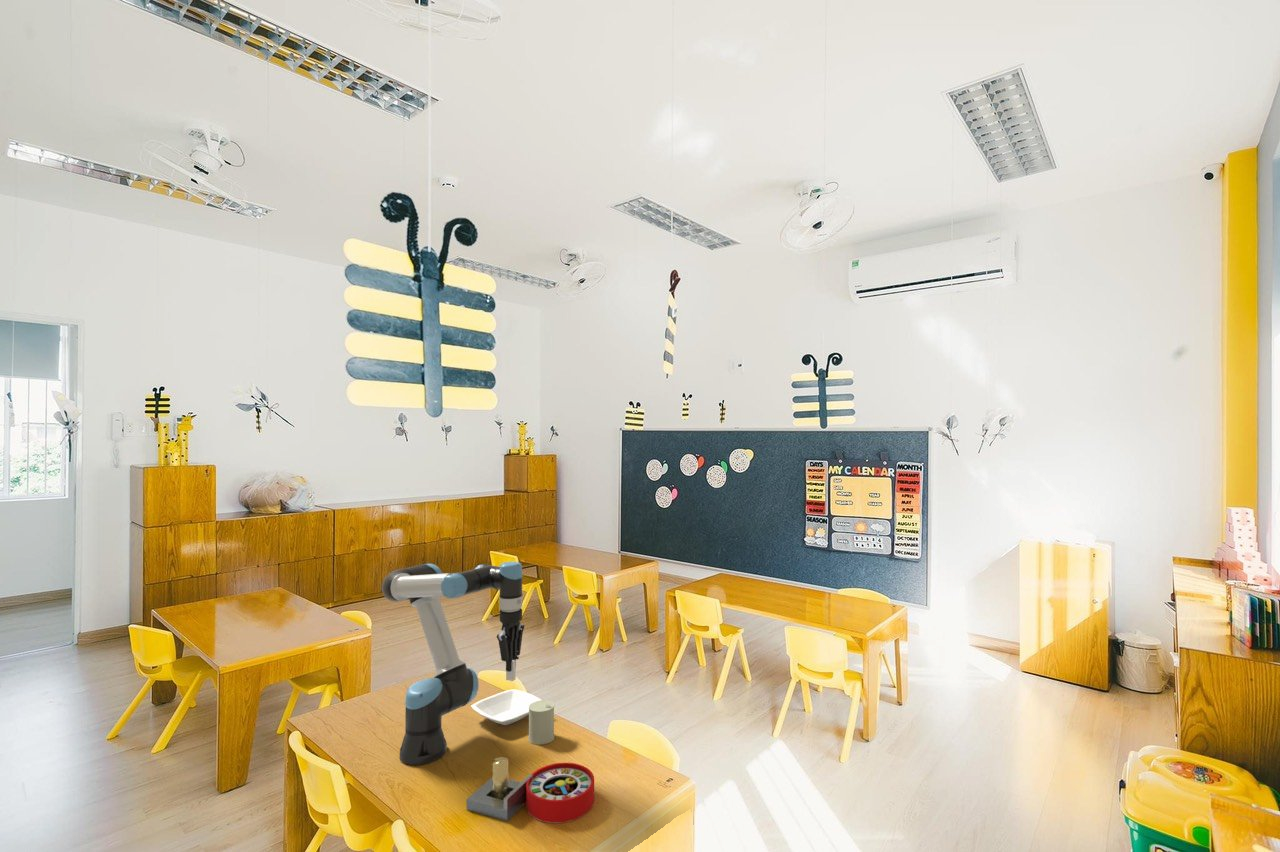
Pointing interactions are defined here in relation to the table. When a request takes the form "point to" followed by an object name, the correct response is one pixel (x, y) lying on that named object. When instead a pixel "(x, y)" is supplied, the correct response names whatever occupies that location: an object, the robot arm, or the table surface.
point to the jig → (498, 800)
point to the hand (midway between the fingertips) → (510, 679)
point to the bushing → (500, 778)
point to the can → (541, 722)
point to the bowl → (505, 706)
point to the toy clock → (560, 792)
